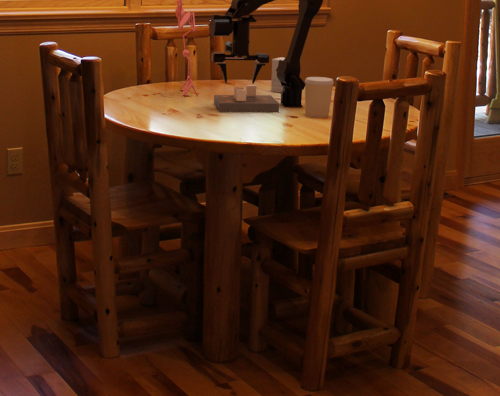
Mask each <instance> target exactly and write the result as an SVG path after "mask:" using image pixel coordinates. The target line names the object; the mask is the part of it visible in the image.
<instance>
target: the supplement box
mask: <svg viewBox="0 0 500 396" xmlns="http://www.w3.org/2000/svg"><path fill="white" fill-rule="evenodd" d="M285 58H286V57H284V56H283V57H281V56H280V57H276V58H272V59H271V81H270V82H271V84H270V92H272V93H280V94H281V91H283V87H284V86H281V82H280V81H279V80H278V78H277V71H276V69H277V67H278V63H279V60H284V59H285Z"/></svg>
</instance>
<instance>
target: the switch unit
mask: <svg viewBox="0 0 500 396" xmlns="http://www.w3.org/2000/svg"><path fill="white" fill-rule="evenodd" d="M213 105H214V106H215V108H216V110H217V111H218V113H273V112H278V113H280V102H278V100H276V99H275V98H274V97H273V96H272V95H271V94H269V95H268V94H267V95H265V94H262V95H261V94H259V95H258V94H256V96H247V95H246V101H236V99H235V98H234V94H213Z"/></svg>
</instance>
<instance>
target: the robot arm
mask: <svg viewBox="0 0 500 396" xmlns="http://www.w3.org/2000/svg"><path fill="white" fill-rule="evenodd" d="M275 1H276V0H231V3H230V6H229V8H228V9H227V10H226V12H225V13H224V14H222V15H221V14H213V13H212V14H211V19H210V21H209V24H208V31H209V34H210V36H211V37H229V36H230V35H231V36H232V38H231V41H225V42H224V51H213V52H212V53H211V56H210V57H211V58H210V59H211V62H212V63H215V64H216V65H217V66H219V68H220V70H221V73H222V76H223V81H224V83H225V84H228V76H227V63H226V61H253V70H252V71H253V72H252V79H251V80H252V81H251V83H252V84H251V85H255V82H256V80H257V77H258V75H259V73H260V71H261V70H262V67H264V66H266V64H270V55H269V54H268V53H267V52H255V53H254V54H250V34H251V23H257V19H256V18H254V16H253V15H252V14H253V13H254V12H256V11H257V10H258V9H259V8H260V7H262V6H265V5H266V4H269V3H272V2H275ZM323 3H324V0H298V7H297V8H298V18H297V22H296V25H295V28H294V32H293V34H292V38H291V42H290V45H289V46H288V51H287V54H286V56H285V57H284V58H285V59H284V60H279V63H278V67H277V69H276V71H277V78H278V80H279V81H280V82H281V86H284V87H283V91H281V93H280V104H281V105H282V106H283V107H288V108H303V105H302V98H303V91H305V80H303V79H302V78H301V71H302V70H301V69H302V68H301V59H302V58H301V57H302V54H303V51H304V48H305V45H306V42H307V38H308V36H309V31H310V29H311V25H312V22H313V19H314V18H315V17H316V16H317V15H318V13H319V11H320V9H322V8H321V7H322V5H323ZM226 53H229V54H226Z"/></svg>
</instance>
